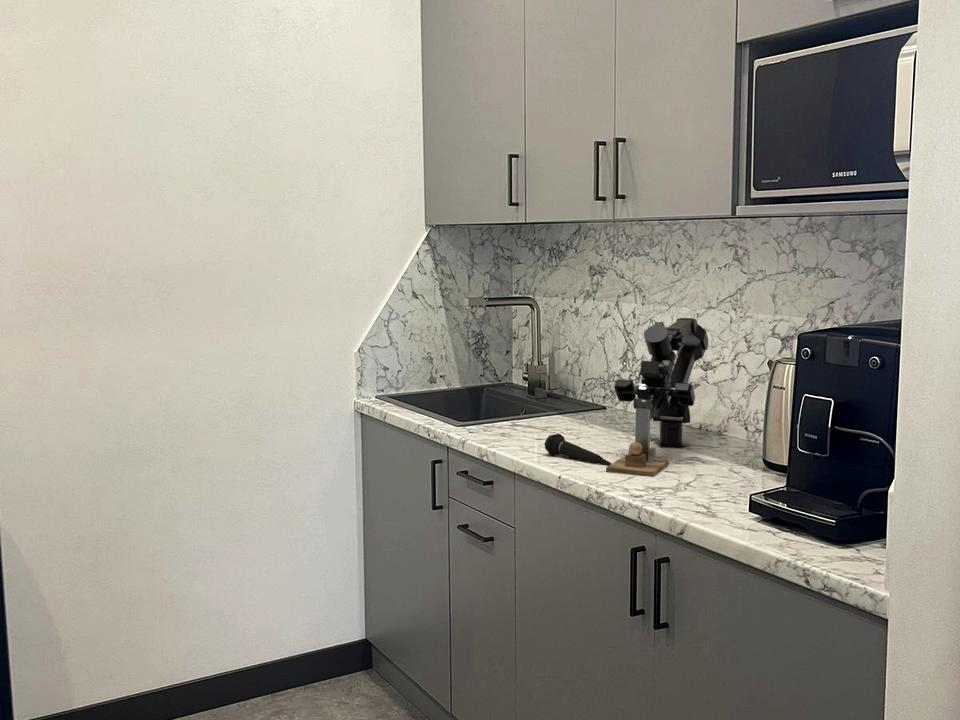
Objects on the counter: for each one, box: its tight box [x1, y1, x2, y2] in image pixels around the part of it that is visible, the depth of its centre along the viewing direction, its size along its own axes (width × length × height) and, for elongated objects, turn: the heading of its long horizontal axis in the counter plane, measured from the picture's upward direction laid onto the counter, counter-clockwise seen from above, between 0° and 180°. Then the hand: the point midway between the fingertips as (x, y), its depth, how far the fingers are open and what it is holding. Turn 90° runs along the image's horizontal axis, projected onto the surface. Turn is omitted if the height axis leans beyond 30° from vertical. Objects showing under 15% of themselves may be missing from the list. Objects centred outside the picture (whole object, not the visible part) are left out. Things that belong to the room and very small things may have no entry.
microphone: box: [544, 433, 613, 467], centre depth 234 cm, size 6×6×20 cm
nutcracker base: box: [605, 441, 670, 478], centre depth 224 cm, size 13×11×6 cm
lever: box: [633, 397, 653, 460], centre depth 227 cm, size 2×4×14 cm, turn 64°
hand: (646, 420), depth 230 cm, fingers closed
